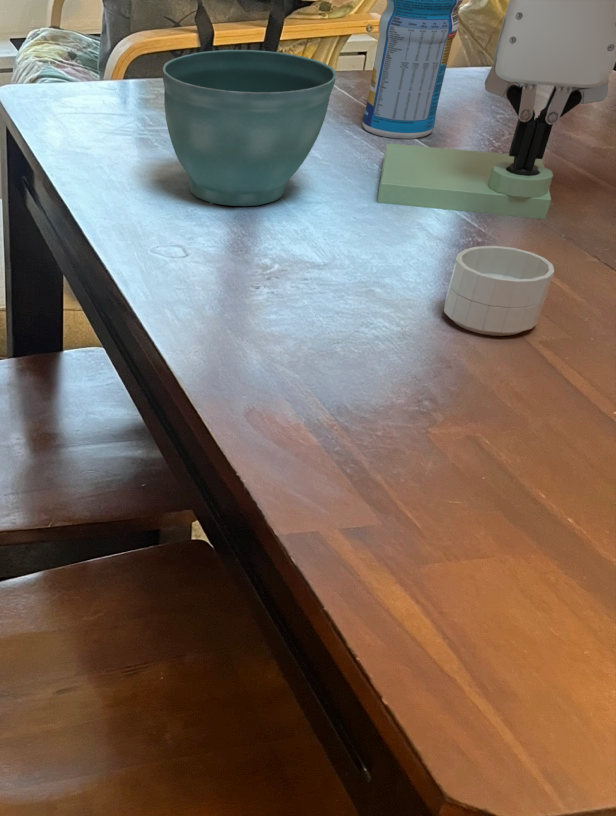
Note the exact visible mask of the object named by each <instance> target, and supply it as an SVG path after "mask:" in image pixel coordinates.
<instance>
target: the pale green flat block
mask: <svg viewBox="0 0 616 816" xmlns="http://www.w3.org/2000/svg"><path fill="white" fill-rule="evenodd" d="M512 163H514V157H513V156H509V153H499V152H489V151H477V150H465V149H456V148H443V147H433V146H432V147H431V146H422V145H410V144H401V143H390V142H389V143H386V146H385V150H384V155H383V160H382V167H381V173H380V179H379V180H380V181H379V187H378V192H377V201H376V203H378V204H386V205H394V206H395V205H396V206H405V207H406V206H407V207H416V208H427V209H435V210H436V209H437V210H448V211H455V212H456V211H457V212H464V213H465V212H467V213H477V214H486V215H498V216H506V217H517V218H526V219H537V220H546V218H547V216H548V212H549V209H550V206H551V203H552V197H551V196H552V195H551V192H550V187H551V184H552V181H553V178H554V174H553V171H552V170H551V169H549V168H547V167H545V165H544V160H543V158H542V159H536V160H535V163H534V165H535V166H537V167H538V170H537V174H536V175H534V176H524V175H517V174H513V173H510V172H508V170H509V167H510V164H512Z"/></svg>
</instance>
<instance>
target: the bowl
mask: <svg viewBox="0 0 616 816" xmlns="http://www.w3.org/2000/svg"><path fill="white" fill-rule="evenodd" d="M554 274H555V267H554V264H553V263H551V262H550V261H549V260H548V259H547V258H546V257H543V256H541V255H539V254H536V253H534V252H532V251H528V250H524V249H521V248H520V249H519V248H516V247H510V246H499V245H479V246H473V247H469V248H465V249H463V250H462V251H460V252H458V253H457V254H456V257H455V262H454V265H453V269H452V273H451V277H450V281H449V285H448V287H447V292H446V295H445V299H444V303H443V312H444V314H445V315H446V316H447V317H448V318H449V319H450V320H451V321H452V322H453V323H454V324H456V325H457V326H458V327H459V328H462V329H464V330H467V331H469V332H471V333H472V332H473V333H475V334H479V335H484V336H485V335H486V336H495V337H496V336H497V337H502V336H503V337H504V336H505V337H507V336H513V335H518V334H520V333H522V332H525V331H528V330H531V329H533V328H534V327H535V326H536V325H537V324H538V323H539V320H540V317H541V314H542V311H543V308H544V305H545V302H546V299H547V296H548V292H549V290H550V286H551V284H552V280H553V277H554Z"/></svg>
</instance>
